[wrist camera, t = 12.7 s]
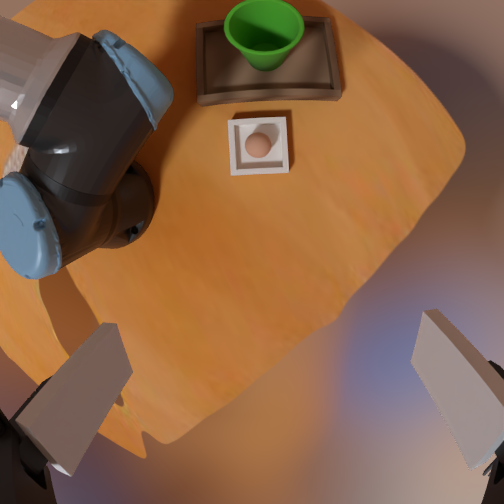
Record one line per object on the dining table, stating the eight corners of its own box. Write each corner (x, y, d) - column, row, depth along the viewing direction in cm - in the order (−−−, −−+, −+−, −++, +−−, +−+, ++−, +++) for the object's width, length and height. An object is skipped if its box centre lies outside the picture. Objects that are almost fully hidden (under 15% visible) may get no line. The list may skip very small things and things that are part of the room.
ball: (246, 159, 38) (244, 158, 35) (245, 134, 37) (242, 131, 34) (272, 158, 38) (272, 156, 34) (270, 133, 37) (270, 129, 33)
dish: (232, 175, 39) (231, 175, 38) (229, 122, 37) (227, 120, 36) (288, 172, 39) (288, 172, 37) (284, 119, 37) (285, 116, 35)
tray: (201, 106, 37) (197, 102, 34) (200, 31, 33) (196, 23, 30) (337, 100, 35) (341, 96, 33) (326, 25, 31) (329, 17, 29)
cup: (238, 32, 32) (229, -5, 22) (298, 38, 32) (307, 1, 21) (230, 81, 35) (217, 52, 24) (293, 87, 34) (301, 59, 24)
